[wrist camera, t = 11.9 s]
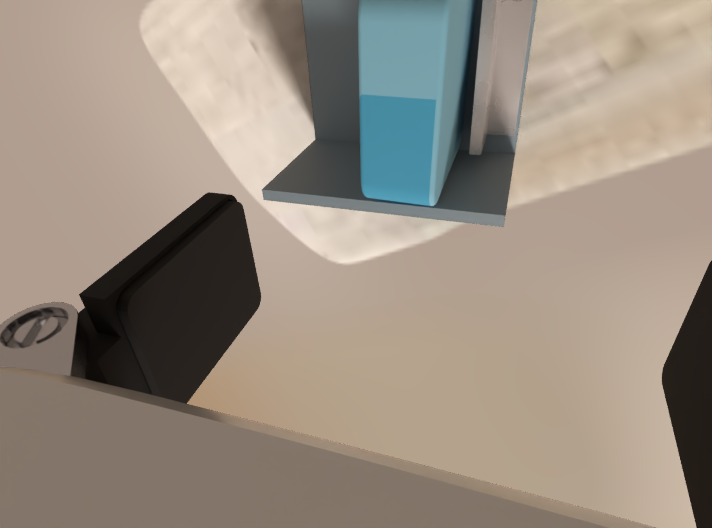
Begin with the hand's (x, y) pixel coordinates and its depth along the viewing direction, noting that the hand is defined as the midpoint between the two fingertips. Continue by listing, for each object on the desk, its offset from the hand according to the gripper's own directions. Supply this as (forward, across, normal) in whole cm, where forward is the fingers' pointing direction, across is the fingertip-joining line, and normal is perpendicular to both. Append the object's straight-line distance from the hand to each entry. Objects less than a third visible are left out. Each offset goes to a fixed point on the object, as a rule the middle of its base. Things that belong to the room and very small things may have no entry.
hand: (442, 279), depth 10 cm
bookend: (+29, +1, +2) cm, 29 cm away
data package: (+29, +5, +2) cm, 30 cm away
